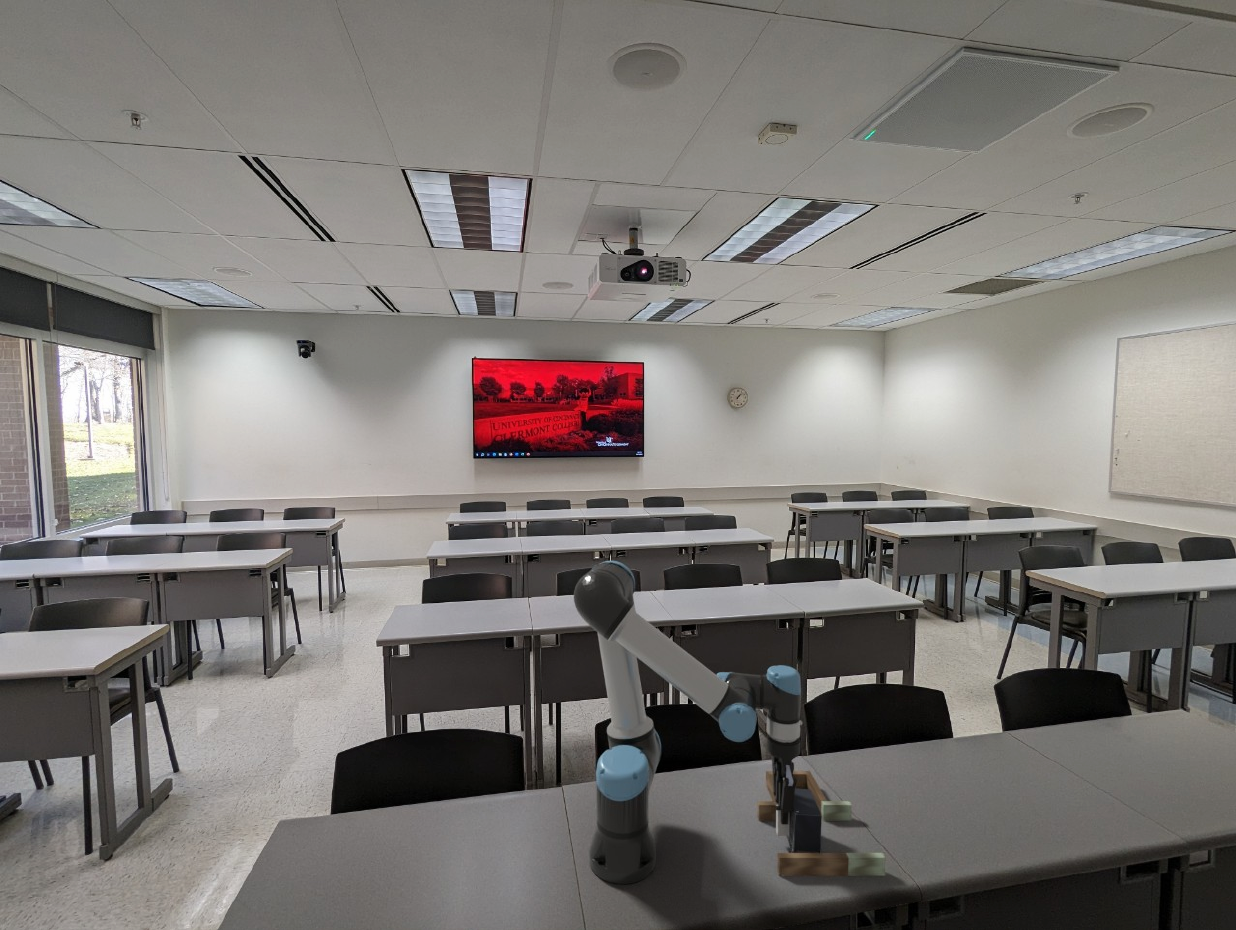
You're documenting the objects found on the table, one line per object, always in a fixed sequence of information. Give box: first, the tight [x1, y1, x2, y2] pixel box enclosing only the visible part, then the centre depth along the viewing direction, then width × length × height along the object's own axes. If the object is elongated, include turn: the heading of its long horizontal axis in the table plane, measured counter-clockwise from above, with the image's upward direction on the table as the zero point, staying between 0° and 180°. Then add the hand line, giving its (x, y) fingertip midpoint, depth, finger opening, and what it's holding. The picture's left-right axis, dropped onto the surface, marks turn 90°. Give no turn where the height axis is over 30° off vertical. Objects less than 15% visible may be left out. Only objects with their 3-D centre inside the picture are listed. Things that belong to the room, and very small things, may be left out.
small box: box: [786, 788, 823, 853], centre depth 139 cm, size 11×6×10 cm, turn 175°
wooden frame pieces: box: [756, 770, 886, 877], centre depth 146 cm, size 23×34×4 cm
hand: (782, 833), depth 139 cm, fingers closed
